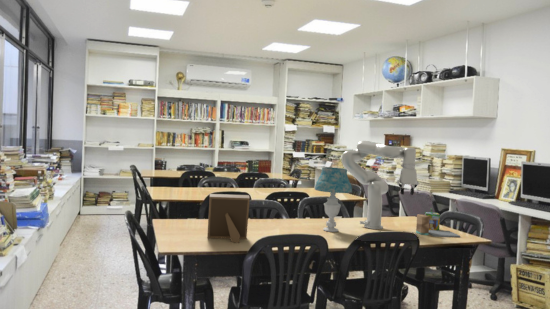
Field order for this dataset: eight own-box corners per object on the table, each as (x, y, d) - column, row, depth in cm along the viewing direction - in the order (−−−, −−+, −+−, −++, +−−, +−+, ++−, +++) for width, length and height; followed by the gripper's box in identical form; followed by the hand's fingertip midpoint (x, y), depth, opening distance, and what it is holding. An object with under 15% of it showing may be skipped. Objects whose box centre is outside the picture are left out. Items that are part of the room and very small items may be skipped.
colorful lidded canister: (439, 231, 316) (440, 209, 315) (425, 230, 318) (426, 208, 317) (437, 229, 325) (438, 208, 325) (423, 227, 327) (425, 206, 326)
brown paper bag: (420, 234, 301) (422, 216, 301) (416, 232, 309) (417, 214, 309) (428, 235, 302) (429, 216, 301) (423, 232, 310) (424, 214, 309)
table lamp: (355, 230, 303) (359, 169, 301) (339, 236, 283) (343, 170, 281) (322, 225, 316) (326, 166, 314) (305, 230, 296) (309, 167, 294)
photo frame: (207, 236, 263) (209, 192, 262) (245, 237, 267) (248, 193, 265) (207, 242, 249) (210, 196, 247) (248, 243, 252) (250, 197, 251)
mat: (433, 236, 298) (433, 234, 298) (422, 231, 314) (423, 229, 314) (460, 237, 300) (460, 235, 300) (448, 232, 315) (448, 230, 315)
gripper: (398, 166, 298) (396, 194, 298) (423, 167, 300) (422, 195, 300) (393, 165, 305) (392, 193, 306) (419, 166, 307) (417, 194, 308)
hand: (407, 194), depth 303 cm, fingers open, 5 cm apart
